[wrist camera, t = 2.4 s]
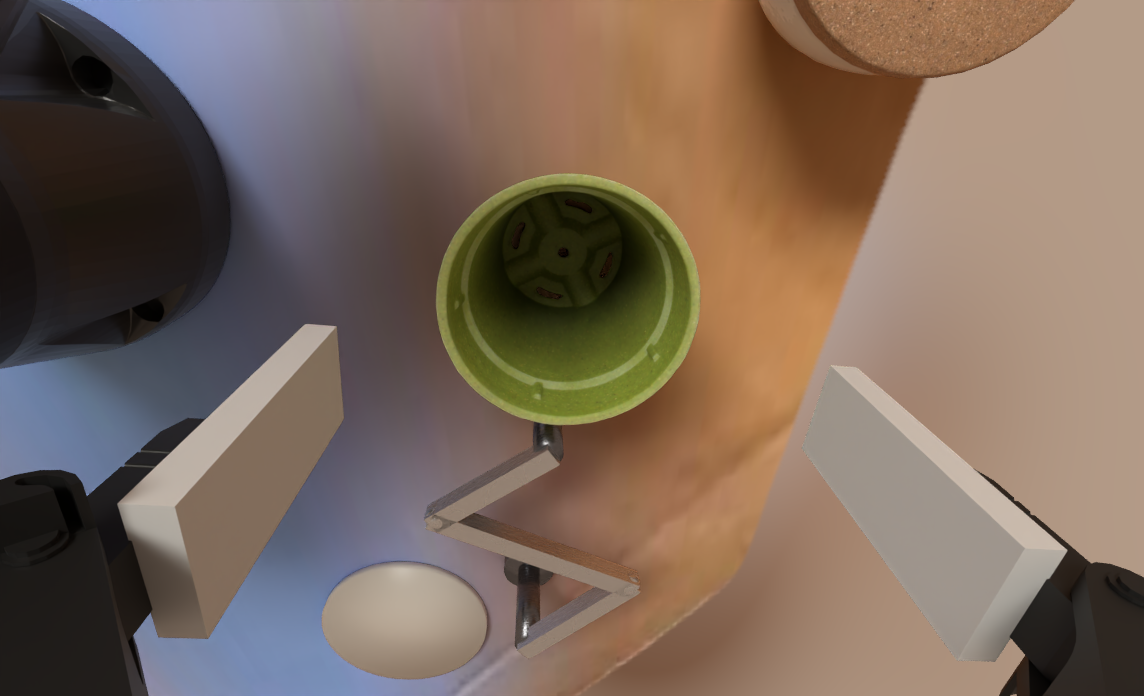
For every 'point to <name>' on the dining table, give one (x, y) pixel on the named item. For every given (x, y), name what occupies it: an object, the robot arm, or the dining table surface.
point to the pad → (404, 620)
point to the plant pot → (568, 300)
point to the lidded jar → (909, 32)
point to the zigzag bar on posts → (532, 548)
